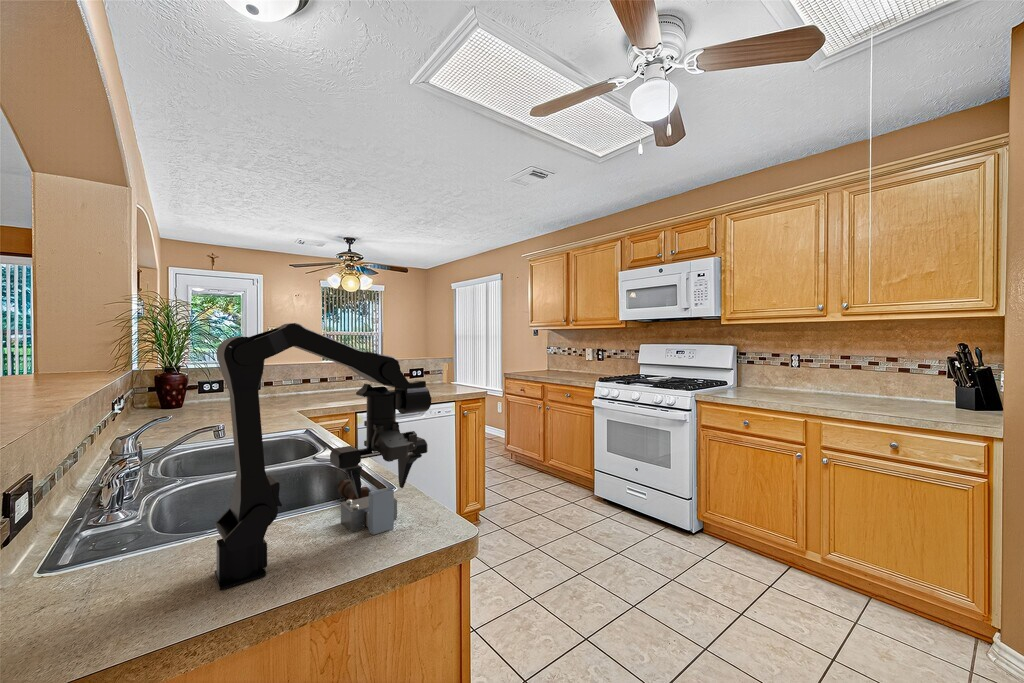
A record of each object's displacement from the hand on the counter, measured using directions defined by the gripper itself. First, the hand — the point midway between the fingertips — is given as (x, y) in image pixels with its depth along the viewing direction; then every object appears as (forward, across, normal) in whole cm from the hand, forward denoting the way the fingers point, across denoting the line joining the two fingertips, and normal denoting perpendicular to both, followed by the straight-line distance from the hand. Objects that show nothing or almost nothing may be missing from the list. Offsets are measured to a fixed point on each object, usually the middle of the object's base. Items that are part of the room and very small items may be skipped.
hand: (380, 492), depth 89 cm
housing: (+8, 0, +6) cm, 10 cm away
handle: (+8, 0, +3) cm, 8 cm away
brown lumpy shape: (+8, +2, +20) cm, 22 cm away
